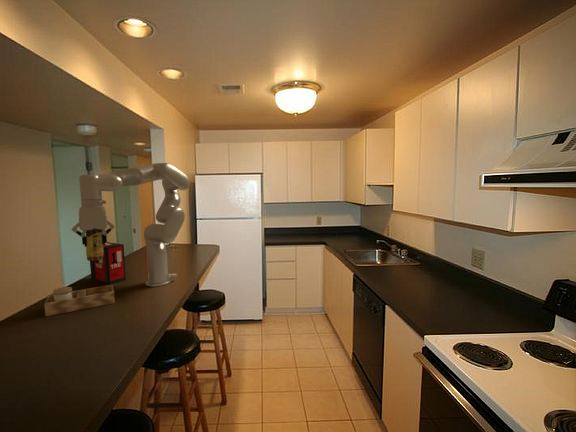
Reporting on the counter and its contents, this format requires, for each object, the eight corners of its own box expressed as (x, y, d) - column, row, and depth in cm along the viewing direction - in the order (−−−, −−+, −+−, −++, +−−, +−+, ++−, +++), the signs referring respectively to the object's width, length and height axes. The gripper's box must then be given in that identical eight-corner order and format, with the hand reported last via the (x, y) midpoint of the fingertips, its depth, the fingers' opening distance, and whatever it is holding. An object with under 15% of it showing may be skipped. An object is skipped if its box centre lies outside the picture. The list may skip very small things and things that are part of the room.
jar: (74, 303, 128) (72, 285, 127) (73, 308, 123) (71, 290, 122) (55, 307, 125) (53, 288, 124) (53, 312, 120) (51, 293, 119)
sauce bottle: (95, 261, 125) (92, 215, 123) (83, 261, 126) (79, 214, 124) (107, 258, 131) (104, 213, 129) (95, 257, 132) (92, 213, 130)
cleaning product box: (125, 280, 162) (123, 244, 160) (109, 285, 154) (107, 247, 152) (107, 276, 170) (105, 241, 168) (91, 280, 162) (88, 244, 160)
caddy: (113, 296, 138) (112, 284, 138) (114, 304, 129) (114, 291, 129) (49, 308, 126) (47, 295, 125) (45, 318, 116) (44, 304, 116)
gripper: (114, 202, 134) (117, 241, 136) (67, 204, 124) (70, 246, 126) (115, 203, 128) (118, 244, 130) (66, 205, 118) (69, 249, 120)
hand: (95, 244), depth 128 cm, fingers closed on sauce bottle, 6 cm apart
